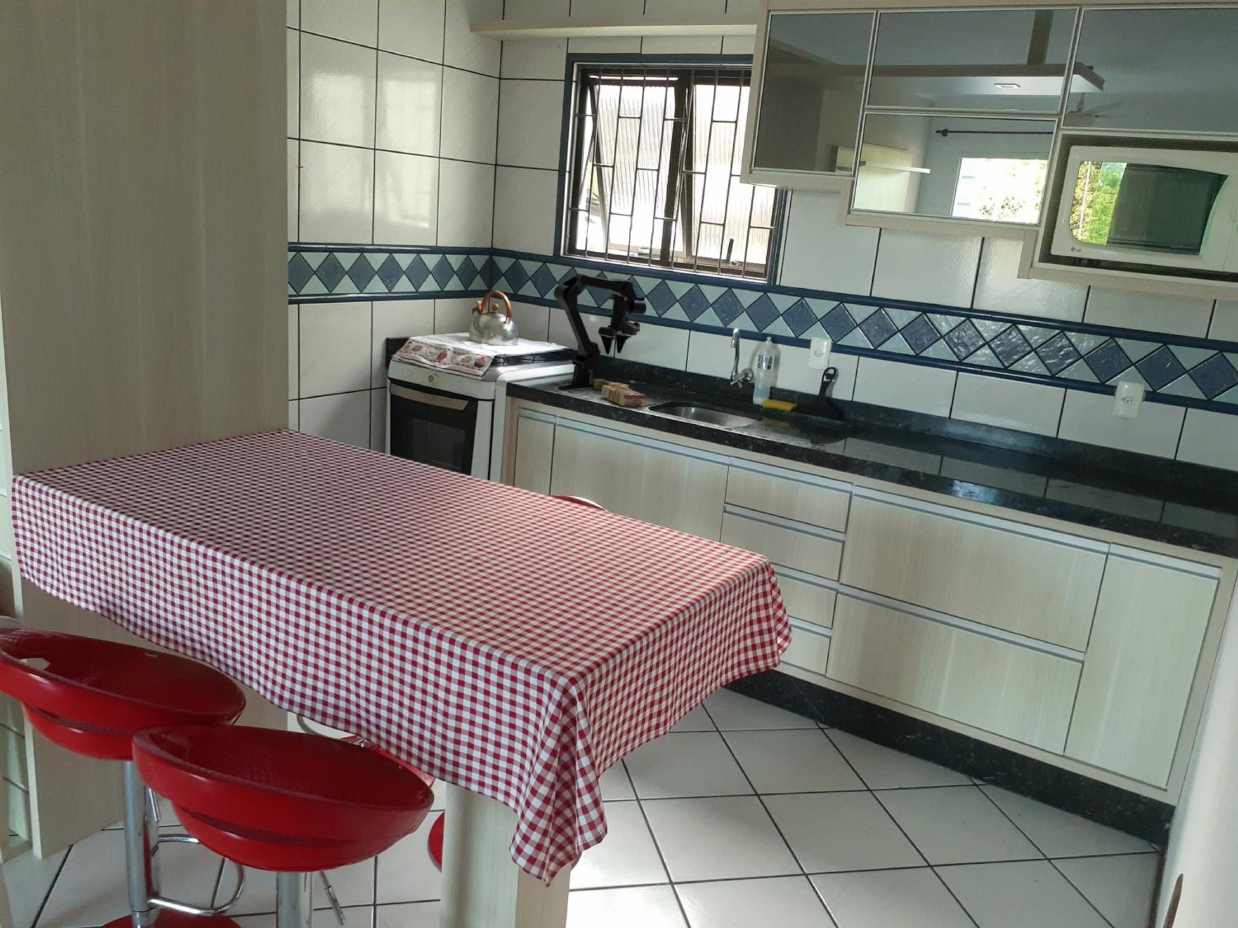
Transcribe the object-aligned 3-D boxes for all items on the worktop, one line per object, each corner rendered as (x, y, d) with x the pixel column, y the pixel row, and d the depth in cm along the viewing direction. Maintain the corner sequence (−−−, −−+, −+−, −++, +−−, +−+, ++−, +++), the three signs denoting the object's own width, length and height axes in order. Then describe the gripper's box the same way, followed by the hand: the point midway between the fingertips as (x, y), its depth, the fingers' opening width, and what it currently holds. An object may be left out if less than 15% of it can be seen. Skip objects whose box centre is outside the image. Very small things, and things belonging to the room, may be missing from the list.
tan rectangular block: (591, 389, 353) (592, 379, 352) (599, 387, 358) (600, 378, 357) (619, 395, 348) (621, 386, 347) (627, 394, 353) (628, 385, 352)
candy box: (600, 397, 338) (621, 405, 325) (602, 385, 337) (623, 393, 324) (622, 398, 343) (644, 406, 330) (623, 386, 342) (645, 394, 329)
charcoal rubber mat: (608, 400, 334) (608, 399, 334) (626, 397, 347) (626, 396, 347) (639, 407, 329) (639, 406, 329) (656, 404, 342) (656, 403, 342)
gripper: (626, 316, 350) (620, 359, 354) (648, 316, 367) (642, 356, 370) (600, 311, 355) (594, 353, 359) (623, 311, 371) (617, 351, 375)
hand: (613, 353), depth 366 cm, fingers open, 9 cm apart
